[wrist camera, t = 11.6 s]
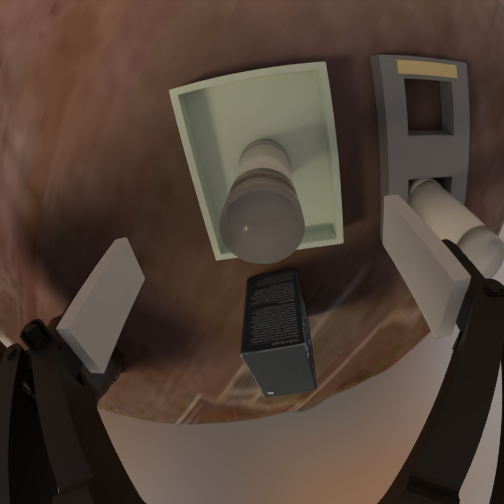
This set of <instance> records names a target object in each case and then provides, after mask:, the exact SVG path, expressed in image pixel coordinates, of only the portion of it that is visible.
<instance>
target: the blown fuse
mask: <svg viewBox="0 0 504 504" xmlns="http://www.w3.org/2000/svg"><path fill="white" fill-rule="evenodd" d="M219 230H220V235H221V238H222V240H223V242H224V244H225V246H226V247H227V248H228V249H229V250H230V252H232V253H233V254H234V255H235V256H237V257H238V258H240V259H242V260H245V261H247V262H251V263H256V264H270V263H275V262H278V261H280V260H283V259H285V258H286V257H288V256H289V255H291V254H292V253H293V252H294V251H295V250H296V249H297V248H298V246H299V245H300V243H301V241H302V239H303V236H304V231H305V222H304V217H303V213H302V208H301V204H300V202H299V199H298V196H297V192H296V189H295V187H294V183H293V178H292V174H291V170H290V161H289V157H288V154H287V152H286V150H285V149H284V148H283V147H282V145H280V144H279V143H277V142H276V141H273V140H270V139H259V140H255V141H253V142H251V143H250V144H248V145H247V146H246V147H245V148H244V150H243V152H242V154H241V156H240V159H239V164H238V169H237V173H236V176H235V179H234V182H233V185H232V186H231V189H230V192H229V195H228V197H227V199H226V201H225V204H224V207H223V210H222V213H221V217H220V222H219Z"/></svg>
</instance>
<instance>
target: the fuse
mask: <svg viewBox="0 0 504 504" xmlns="http://www.w3.org/2000/svg"><path fill="white" fill-rule="evenodd" d="M408 205H409V206H410V207H411V208H412V209H413V210H414V211H415V212H416V213H417V214H418V215H419V216H420V217H421V219H422V220H423V221H424V222H425V223H426V224H427V225H428V226H429V227H430V228H431V229H432V230H433V232H434V233H435V234H436V235H437V236H438V237H439V238H440V239H441V240H443V239H448V240H450V241H452V242H453V243H455V244H457V246H458V247H459V248H460V249H461V250H462V251H463V253H464V254H465V255H466V256H467V257H468V259H470V261H471V262H472V263H473V264H474V265H475V266H476V268H477V269H478V270H479V271H480V273H481V274H482V275H483V276H484V278H485V279H486V278H489V279H491V278H492V277H493V276H494V275H495V274H496V273H497V271H498V270H499V268H500V266H501V265H502V262H503V260H504V243H503V241H502V240H501V239H500V238H499V237H498V236H497V235H496V234H495V233H494V232H493V231H492V230H491V229H490V228H489V227H487V226H485V225H484V224H483V223H482V222H481V221H480V220H479V219H478V218H477V217H476V216H475V215H474V214H473V213H471V212H470V211H469V210H468V209H467V208H466V207H465V206H464V205H463V204H461V203H460V202H459V201H458V200H457V199H456V198H455V197H453V196H452V195H451V194H450V193H449V192H447V191H446V190H445V189H444V188H443V187H442V186H441V185H440V184H439V183H438V182H437V181H436V180H434V179H433V178H422V179H409V180H408Z"/></svg>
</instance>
